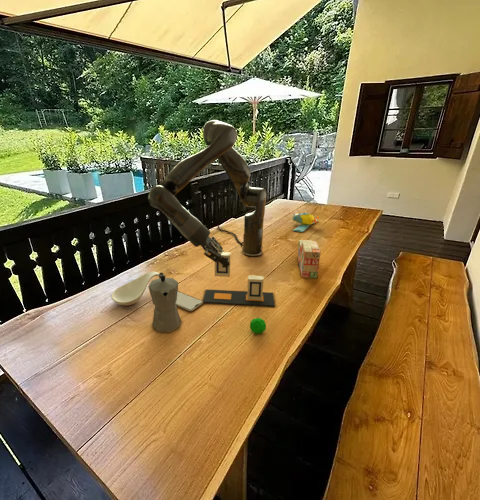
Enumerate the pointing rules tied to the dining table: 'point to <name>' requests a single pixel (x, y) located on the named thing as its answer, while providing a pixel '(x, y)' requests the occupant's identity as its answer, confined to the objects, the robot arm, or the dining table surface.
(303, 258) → the stack of blocks
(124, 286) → the spoon rest
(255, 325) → the polyhedron
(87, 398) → the dining table surface
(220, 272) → the cream oblong block
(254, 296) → the upright beige pillar
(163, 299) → the coffeepot
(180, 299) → the smartphone
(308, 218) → the toy airplane
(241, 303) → the word mat
